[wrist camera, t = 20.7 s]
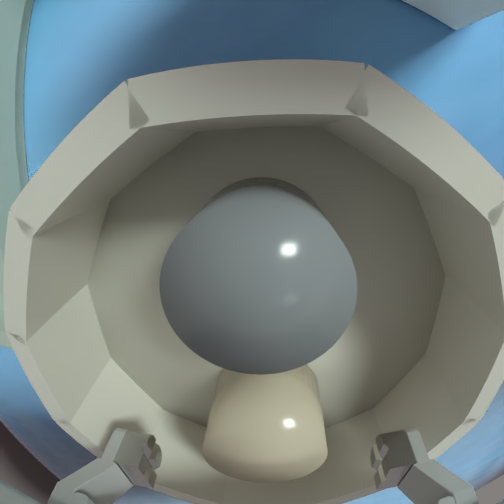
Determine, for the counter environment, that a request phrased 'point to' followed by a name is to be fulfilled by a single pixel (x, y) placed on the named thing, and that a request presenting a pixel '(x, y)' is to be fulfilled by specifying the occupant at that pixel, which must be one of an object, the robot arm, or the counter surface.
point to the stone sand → (266, 426)
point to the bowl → (337, 213)
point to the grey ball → (258, 279)
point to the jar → (458, 10)
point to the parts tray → (11, 120)
